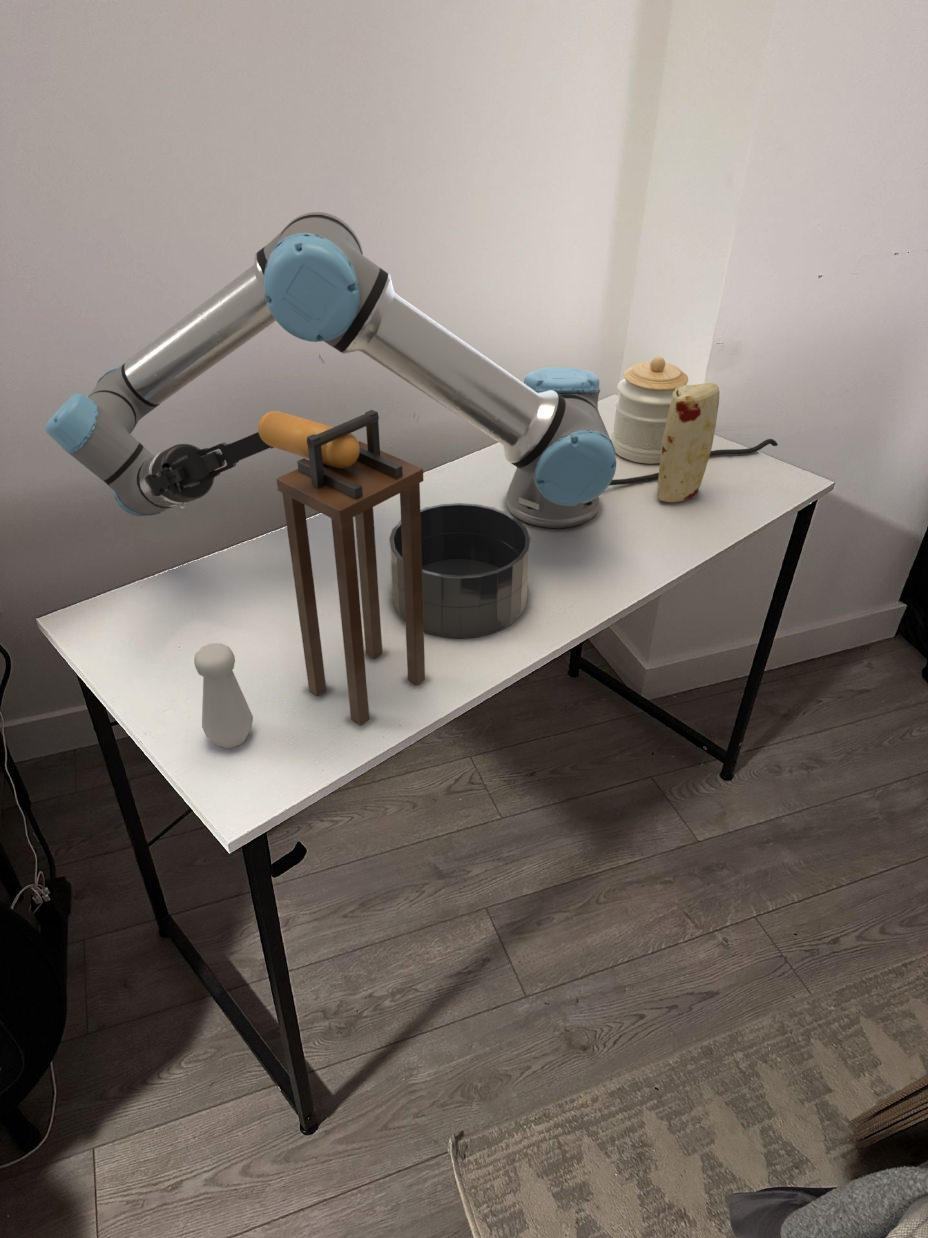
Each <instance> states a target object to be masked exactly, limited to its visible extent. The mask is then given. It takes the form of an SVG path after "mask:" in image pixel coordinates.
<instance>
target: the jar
mask: <svg viewBox="0 0 928 1238" xmlns="http://www.w3.org/2000/svg"><path fill="white" fill-rule="evenodd" d="M688 382H689V376H688V375H687V374H686V373H685V372H684V371H683V370H682V369H681V368H680V367H678V366H676V365H675V364H672V363H670V362H666V360H665V359H664V357H662V356H654V357H653V358H652V359H651V360H649V361H648V360H647V361H642V362H638V363H636V364H634V365H633V366H631V367H628V368H627V369H626V370H625V371H624V373H623V379H622V380H620V381H619V382H618V384H617V391H618V393H619V397H618V398H617V400H616V401H615V412H614V413H615V415H614V423H613V429H612V430H613V431H612V433H611V441H612V443H613V446H614V447H615V454H616V455H618V456H620V457H621V458H623V459H625V460H628V461H631V462H633V463H634V462H635V463H640V464H651V465H652V464H660V458H661V448H662V440H663V435H664V431H665V427H666V423H667V418H668V414H669V409H670V404H671V400H672V395H673V392H674V390H675V389H676V388H677V387H678V386H680V385H685V384H686V385H688Z"/></svg>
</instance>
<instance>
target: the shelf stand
mask: <svg viewBox="0 0 928 1238" xmlns="http://www.w3.org/2000/svg"><path fill="white" fill-rule="evenodd" d="M379 420H380V416H379V412H378V411H377V410H374V409H370V410H367V411H365V412H364V414H361V415H359V416H357V417H354V418H352V419H350V420H347V421H345V422H342V423H340V424H338V425H336V426H332V427H333V428H331V429H328V430H326V431H324V432H321V433H319V434H317V435H315V434H313V435H311V436H308V437H307V445H308V453H309V459H308V458H305V457H302V459H299V460H297V462H296V464H297V469H294V470H293V471H290V472H288V473H286V474H283V475H281V476H279V477H277V478H276V479H275V480H276V487H277V492H279V493H281V494H282V501H283V508H284V516H285V524H286V531H287V537H288V545H289V552H290V561H291V565H292V575H293V582H294V590H295V597H296V603H297V610H298V619H299V620H298V621H299V627H300V633H301V634H300V635H301V642H302V650H303V656H304V663H305V671H306V679H307V685H308V691H309V692H310V693H312V694H313V695H315V696H316V697H319V696H320V695H321V694H323V693H324V692H326V691H327V682H326V681H327V680H326V674H325V666H324V657H323V647H322V640H321V632H320V623H319V615H318V614H319V613H318V606H317V598H316V590H315V582H314V573H313V565H312V556H311V555H312V554H311V547H310V540H309V532H308V531H309V530H308V523H307V514H306V507H309V508H311V510H314V511H316V512H318V513H320V514H321V515H324V516H326V517H328V518H330V522H331V531H332V540H333V551H334V559H335V560H334V562H335V570H336V582H337V590H338V591H337V592H338V601H339V608H340V609H339V611H340V612H339V613H340V620H341V622H340V623H341V632H342V642H343V643H342V644H343V653H344V659H345V660H344V662H345V669H346V670H345V671H346V681H347V690H348V702H349V712H350V720H351V721H352V722H353V723H355V724H356V725H358V726H362V725H363V724H364V723H366V722H368V721H369V720H370V707H369V695H368V683H367V672H366V670H367V669H366V661H365V660H366V659H365V658H366V657H365V655H367V656H368V657H370V658H372V659H373V660H375V659H376V658H378V657H379V656H381V655H382V654H383V639H382V637H383V636H382V623H381V609H380V594H379V578H378V577H379V576H378V564H377V548H376V546H377V545H376V533H375V531H376V529H375V517H374V507H376V506H378V505H380V504H381V503H384V502H386V501H388V500H389V499H391V498H393V497H395V496H397V495H399V507H400V520H401V531H402V554H403V577H404V600H405V621H404V622H405V641H406V664H407V680H408V681H409V682H410V683H413V684H414V685H415V686H418V685H419V684H421V683H422V682H424V681H425V680H426V667H425V666H426V661H425V657H426V656H425V633H424V622H423V586H422V551H421V515H420V510H421V486H420V484H421V483H422V482H424V468H422V467H420V466H419V465H415V464H413V463H410V462H409V461H406V460H405V459H401V458H399V457H397V456H395V455H392V454H390V453H388V452H387V451H386V452H385V451H383V450H381V441H380V426H379ZM363 428H365V429H366V443H365V442H362V441H361V440H359V441H358V443H359V446H360V454H359V457H358V459H357V461H356V462H355V463H354V464H353V465H351V466H350V467H347V468H341V469H340V468H335V467H332V466H329V465H326V464H323V458H322V448H321V446H322V445H324V444H327V443H329V442H331V441H334V440H336V439H338V438H340V437H343V436H345V435H347V434H349V433H351V434H353V433H354V432H356V431H359V430H361V429H363ZM305 506H306V507H305ZM354 523H355V524H354ZM354 525H355V526H354ZM355 537H356V538H355ZM356 547H357V549H356ZM357 560H358V561H357ZM359 585H360V587H359ZM360 597H361V599H360ZM361 610H362V611H361ZM364 646H365V647H364Z"/></svg>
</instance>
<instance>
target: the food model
mask: <svg viewBox="0 0 928 1238" xmlns="http://www.w3.org/2000/svg"><path fill="white" fill-rule="evenodd" d="M719 405H720V387H719V385H717V384H716V383H714V382H703V383H698V384H685V385H680V386H678V387H677V388H676V389H675V390H674V392H673V395H672V400H671V404H670V409H669V414H668V418H667V423H666V427H665V431H664V435H663V440H662V448H661V458H660V463H659V468H658V472H659V477H658V478H657V498H658V500H659V501H662V502H666V503H678V502H684V501H687V500H690V499H692V498H694V497H696V496H697V494H698V493H699V489H700V487H701V484H702V482H703V479H704V475H705V472H706V469H707V466H708V462H709V461H710V460H709V459H710V457H711V456H710V453H711V451H712V449H713V443H714V438H715V432H716V428H717V421H718V420H717V419H718V414H719V413H718V412H719Z"/></svg>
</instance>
